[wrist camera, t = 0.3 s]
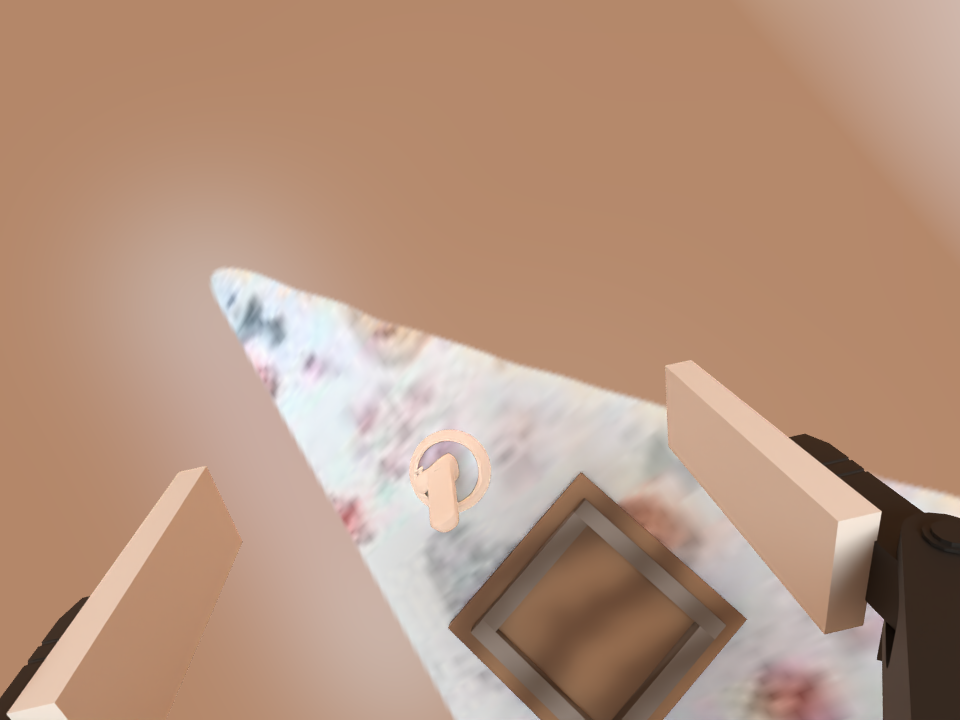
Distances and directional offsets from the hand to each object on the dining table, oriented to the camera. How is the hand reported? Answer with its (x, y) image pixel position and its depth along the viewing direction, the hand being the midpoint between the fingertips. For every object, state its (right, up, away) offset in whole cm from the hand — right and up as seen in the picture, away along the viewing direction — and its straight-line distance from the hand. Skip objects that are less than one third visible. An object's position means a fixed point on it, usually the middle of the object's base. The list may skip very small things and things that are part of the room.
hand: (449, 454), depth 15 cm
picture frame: (+11, -20, +31) cm, 39 cm away
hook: (-2, -8, +34) cm, 35 cm away
